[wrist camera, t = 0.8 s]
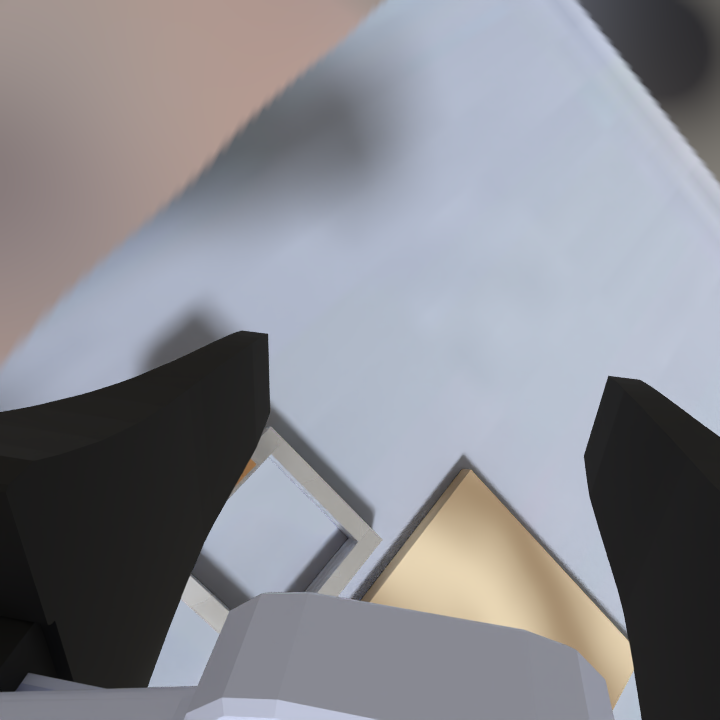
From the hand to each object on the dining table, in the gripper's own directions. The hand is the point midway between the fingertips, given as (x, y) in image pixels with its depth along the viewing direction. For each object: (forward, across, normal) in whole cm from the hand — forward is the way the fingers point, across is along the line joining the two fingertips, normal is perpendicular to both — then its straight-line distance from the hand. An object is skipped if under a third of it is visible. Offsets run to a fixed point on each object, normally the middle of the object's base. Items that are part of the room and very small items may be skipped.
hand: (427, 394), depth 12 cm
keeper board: (+5, -3, +20) cm, 21 cm away
